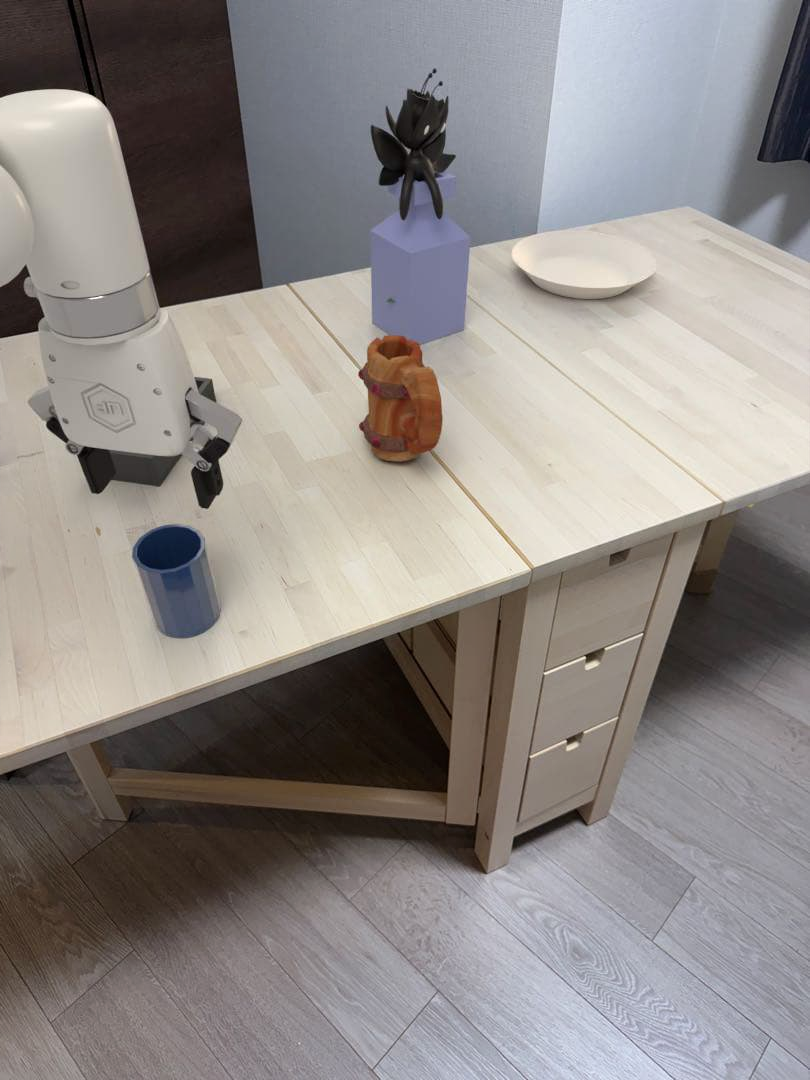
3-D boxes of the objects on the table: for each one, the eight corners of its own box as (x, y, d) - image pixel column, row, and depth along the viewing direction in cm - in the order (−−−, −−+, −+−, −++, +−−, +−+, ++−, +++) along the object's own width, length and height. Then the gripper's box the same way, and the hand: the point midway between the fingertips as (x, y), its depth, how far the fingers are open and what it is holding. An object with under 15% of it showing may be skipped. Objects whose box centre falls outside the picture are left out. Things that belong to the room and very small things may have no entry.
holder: (86, 476, 89) (76, 448, 86) (152, 397, 102) (145, 370, 99) (159, 486, 88) (152, 458, 85) (217, 405, 101) (212, 378, 98)
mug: (351, 437, 96) (346, 329, 85) (408, 422, 98) (410, 316, 88) (398, 504, 86) (399, 392, 76) (460, 486, 89) (469, 375, 78)
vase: (397, 357, 111) (399, 88, 87) (356, 327, 118) (347, 70, 94) (472, 332, 117) (492, 74, 93) (429, 304, 124) (437, 58, 100)
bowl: (501, 299, 126) (503, 279, 123) (517, 243, 143) (520, 224, 141) (652, 316, 122) (658, 295, 119) (650, 256, 140) (655, 237, 137)
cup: (142, 632, 72) (119, 566, 65) (170, 585, 76) (151, 519, 70) (205, 643, 71) (187, 577, 65) (230, 594, 75) (215, 529, 69)
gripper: (-46, 313, 50) (40, 506, 62) (196, 338, 47) (238, 534, 59) (17, 267, 55) (85, 453, 67) (238, 287, 53) (268, 476, 65)
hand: (157, 490), depth 63 cm, fingers open, 9 cm apart
